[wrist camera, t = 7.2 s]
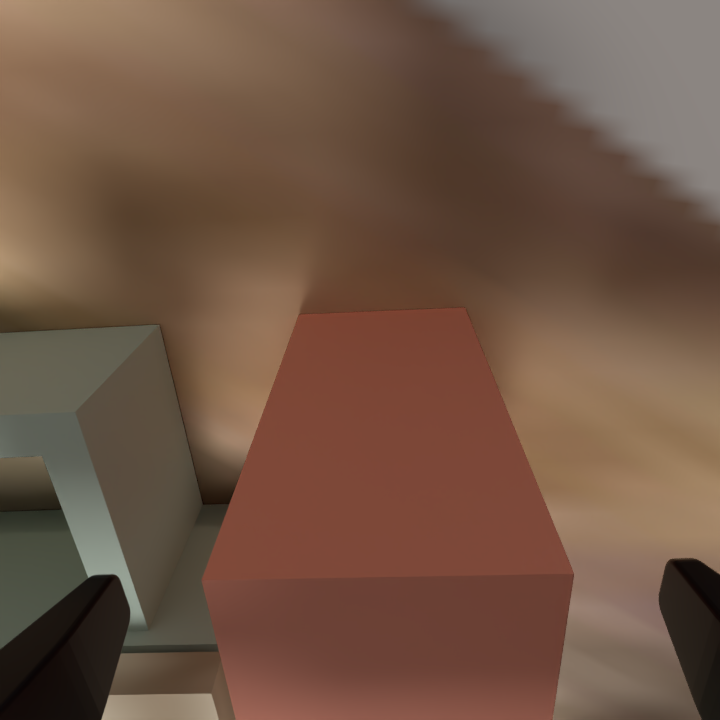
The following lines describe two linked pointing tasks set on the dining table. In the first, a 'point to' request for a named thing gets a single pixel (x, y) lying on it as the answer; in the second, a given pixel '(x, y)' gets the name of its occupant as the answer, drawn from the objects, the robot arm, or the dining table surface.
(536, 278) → the dining table surface
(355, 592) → the red rectangular block
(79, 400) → the grey-green open box
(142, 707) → the slatted box lid
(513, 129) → the dining table surface
